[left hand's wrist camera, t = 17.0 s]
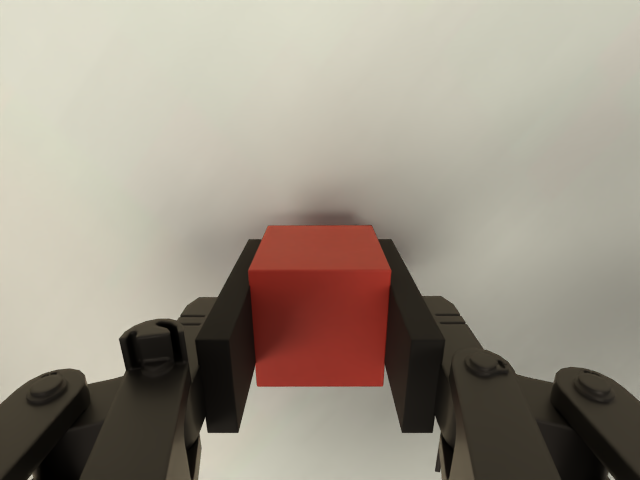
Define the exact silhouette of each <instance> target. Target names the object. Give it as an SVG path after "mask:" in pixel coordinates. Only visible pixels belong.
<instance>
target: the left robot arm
mask: <svg viewBox="0 0 640 480" xmlns="http://www.w3.org/2000/svg"><path fill="white" fill-rule="evenodd" d="M261 241H262V239H249V240H248V242H247V244H246V246H245V248H244V249H243V251H242V253H241V255H240V257H239V259H238V261H237V262H236V264H235V266H234V268H233V270H232V272H231V274H230V275H229V277H228V279H227V281H226V283H225V285H224V287H223V289H222V290H221V292H220V294H219V296H218V297H199V298H197V299H196V300H195V301H193V302H192V303H190V304H189V305H187V306H186V308H185V309H184V311H183V312H182V314H181V317H179V318H178V320H177V321H176V320H172V319H155V320H150V321H145V322H143V323H140V324H138V325H135V326H133V327H132V328H130V329H129V330H127V331H126V332H124V334H123V335H122V336H121V337H120V338H119V341H120V345H121V350H122V354H123V359H124V363H125V368H126V372H125V374H124V376H122V377H118V378H115V379H110V380H106V381H101V382H96V383H92V384H87V382H86V378H85V375H84V374H83V373H82V372H81V371H80V370H75V369H61V370H55V371H51V372H47V373H44V374H42V375H40V376H38V377H36V378H34V379H32V380H30V381H28V382H27V383H25V384H24V385H22V386H21V387H20V388H18V389H17V390H16V391H15V392H13V393H12V394H11V395H10V396H9V397H8V398H7V399H6V400H5V401H3V402H2V403H1V404H0V480H27V479H28V478H29V477H30V476H31V474H33V477H34V478H33V479H32V480H198V475H199V466H200V457H201V441H200V434H199V433H200V430H201V427H202V424H203V422H204V419H205V417H206V424H207V431H208V433H238V432H239V428H240V424H241V420H242V416H243V412H244V408H245V404H246V400H247V396H248V392H249V388H250V384H251V380H252V376H253V372H254V368H255V364H256V359H255V345H254V332H253V318H252V305H251V291H250V286H249V277H248V270H249V268H250V265H251V263H252V261H253V259H254V256H255V254H256V252H257V250H258V247H259V245H260V243H261ZM378 241H379V243H380V246H381V248H382V250H383V253H384V255H385V257H386V259H387V262H388V264H389V266H390V269H391V283H390V294H389V308H388V322H387V336H386V349H385V367H386V371H387V375H388V379H389V383H390V387H391V391H392V395H393V399H394V403H395V407H396V411H397V415H398V419H399V423H400V427H401V431H402V433H433V426H434V419H435V416H436V419H437V422H438V425H439V427H440V430H441V434H440V441H439V448H438V454H437V461H436V468H435V471H436V472H440V469H441V474H442V480H610V479H609V478H608V473H610V474H611V475H612V476H613V477H614V479H615V480H640V401H638V400H637V399H636V398H635V397H634V396H633V395H632V394H631V393H629V392H628V391H627V390H626V389H625V388H624V387H622V386H621V385H619V384H618V383H617V382H615V381H614V380H612V379H611V378H608V377H606V376H604V375H602V374H600V373H598V372H595V371H591V370H589V369H584V368H576V367H568V368H563V369H561V370H559V371H558V372H557V373H556V376H555V379H554V383H551V382H547V381H542V380H537V379H533V378H528V377H524V376H521V375H517V374H516V373H515V371H514V369H513V368H512V366H511V365H510V364H509V362H507V361H506V360H505V359H503V358H502V357H501V356H499V355H497V354H495V353H492V352H490V351H488V350H484V349H483V348H482V346H481V345H480V343H479V342H478V340H477V339H476V337H475V336H474V334H473V333H472V331H471V330H470V328H469V327H468V325H467V324H465V321H464V319H463V318H462V316H460V313H459V312H458V310H457V309H456V308H455V306H454V305H453V304H452V303H451V302H449V301H448V300H446V299H445V298H443V297H442V296H422V295H421V294H420V292H419V290H418V288H417V286H416V284H415V282H414V280H413V279H412V277H411V275H410V273H409V271H408V269H407V267H406V266H405V264H404V262H403V260H402V258H401V256H400V254H399V253H398V251H397V249H396V247H395V245H394V243H393V241H392V240H391V239H378Z"/></svg>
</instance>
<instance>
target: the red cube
mask: <svg viewBox="0 0 640 480" xmlns="http://www.w3.org/2000/svg"><path fill="white" fill-rule="evenodd" d="M248 277H249V286H250V291H251V305H252V318H253V332H254V345H255V359H256V364H255V367H256V380H257V386H258V387H276V386H383V381H384V367H385V349H386V336H387V322H388V308H389V294H390V283H391V269H390V266H389V264H388V262H387V259H386V257H385V255H384V253H383V250H382V248H381V246H380V243H379V241H378V239H377V236H376V234H375V232H374V229H373V227H372V226H371V225H299V226H268V227H267V229H266V232H265V234H264V236H263V238H262V241H261V243H260V245H259V247H258V250H257V252H256V254H255V256H254V259H253V261H252V263H251V265H250V268H249V270H248Z"/></svg>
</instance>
